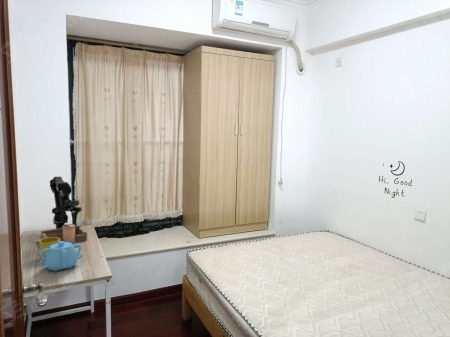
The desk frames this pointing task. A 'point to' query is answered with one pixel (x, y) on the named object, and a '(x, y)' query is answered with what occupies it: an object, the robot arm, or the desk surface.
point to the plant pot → (48, 243)
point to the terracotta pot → (69, 233)
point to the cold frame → (79, 233)
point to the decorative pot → (60, 256)
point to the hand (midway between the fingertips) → (69, 222)
